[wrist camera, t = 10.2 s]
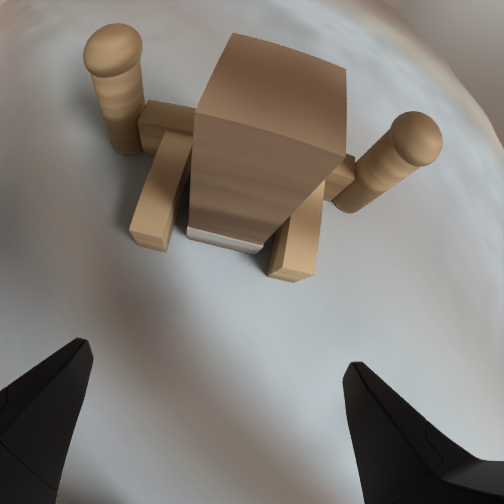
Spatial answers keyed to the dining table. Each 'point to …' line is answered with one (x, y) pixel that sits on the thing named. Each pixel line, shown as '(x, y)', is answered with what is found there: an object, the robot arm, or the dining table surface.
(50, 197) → the dining table surface
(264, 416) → the dining table surface
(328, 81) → the block
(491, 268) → the dining table surface
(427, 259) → the dining table surface
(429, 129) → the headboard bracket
